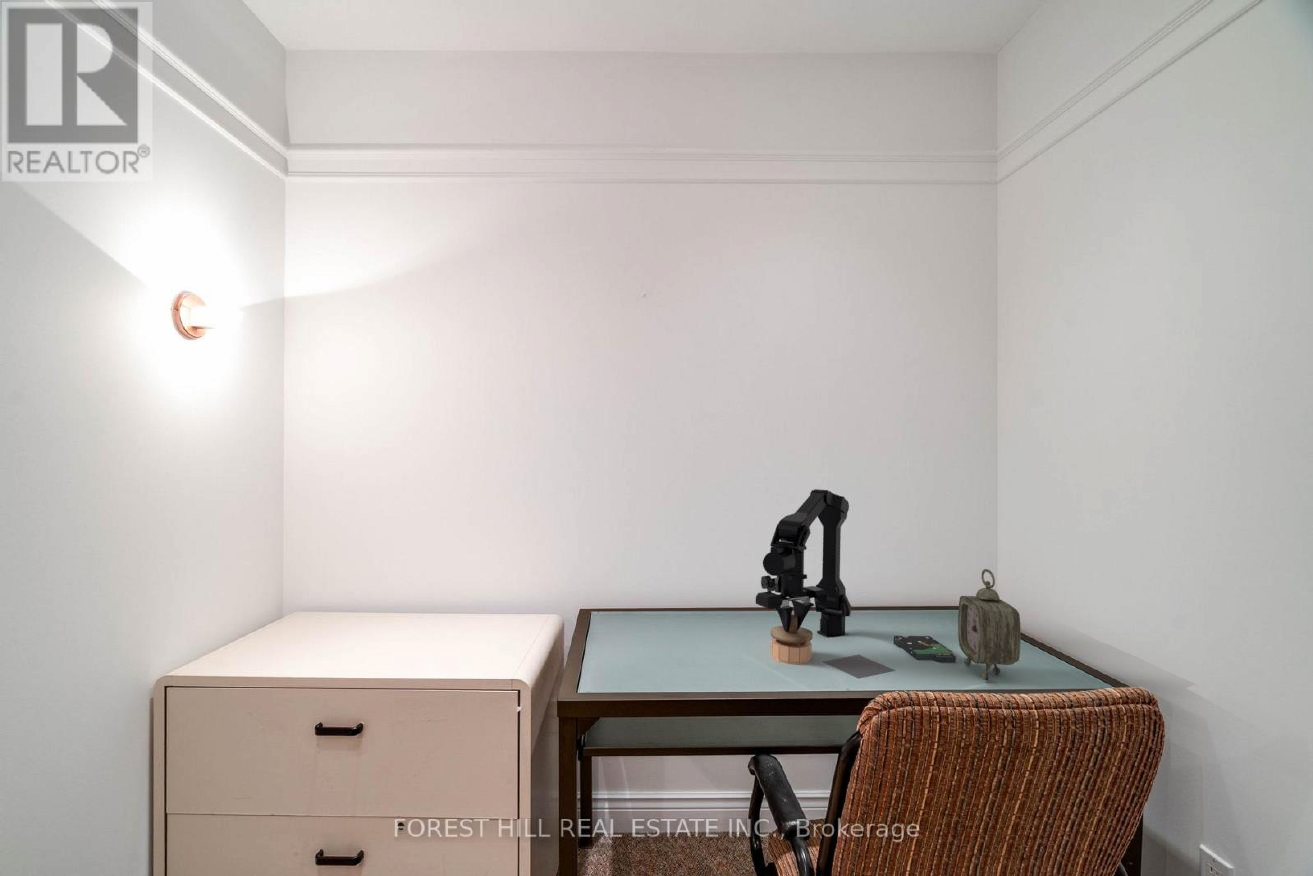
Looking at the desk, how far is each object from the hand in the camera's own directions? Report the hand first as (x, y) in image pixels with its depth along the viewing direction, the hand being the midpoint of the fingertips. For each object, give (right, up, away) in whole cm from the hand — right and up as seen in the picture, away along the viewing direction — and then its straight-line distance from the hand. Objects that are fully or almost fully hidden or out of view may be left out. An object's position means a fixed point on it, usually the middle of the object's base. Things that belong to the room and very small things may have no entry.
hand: (791, 631), depth 162 cm
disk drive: (+36, -8, +7) cm, 38 cm away
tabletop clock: (+46, -8, -8) cm, 47 cm away
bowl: (0, -7, 0) cm, 7 cm away
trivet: (+15, -7, -6) cm, 18 cm away
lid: (0, -1, 0) cm, 1 cm away
